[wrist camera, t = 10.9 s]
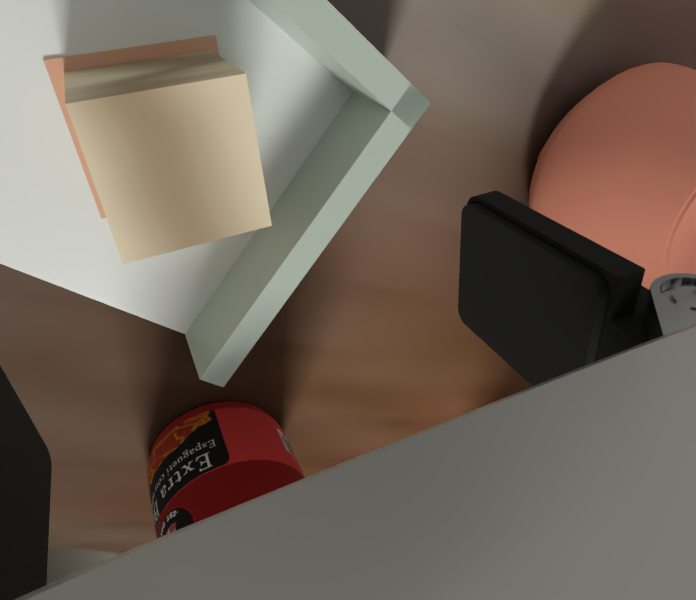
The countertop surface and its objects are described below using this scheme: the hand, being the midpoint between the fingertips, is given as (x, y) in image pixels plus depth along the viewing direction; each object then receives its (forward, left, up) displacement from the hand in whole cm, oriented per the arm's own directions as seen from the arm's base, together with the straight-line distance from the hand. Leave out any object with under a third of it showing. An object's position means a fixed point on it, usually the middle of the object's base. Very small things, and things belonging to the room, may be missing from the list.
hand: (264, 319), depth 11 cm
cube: (0, 0, -13) cm, 13 cm away
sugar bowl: (-22, -13, -14) cm, 29 cm away
